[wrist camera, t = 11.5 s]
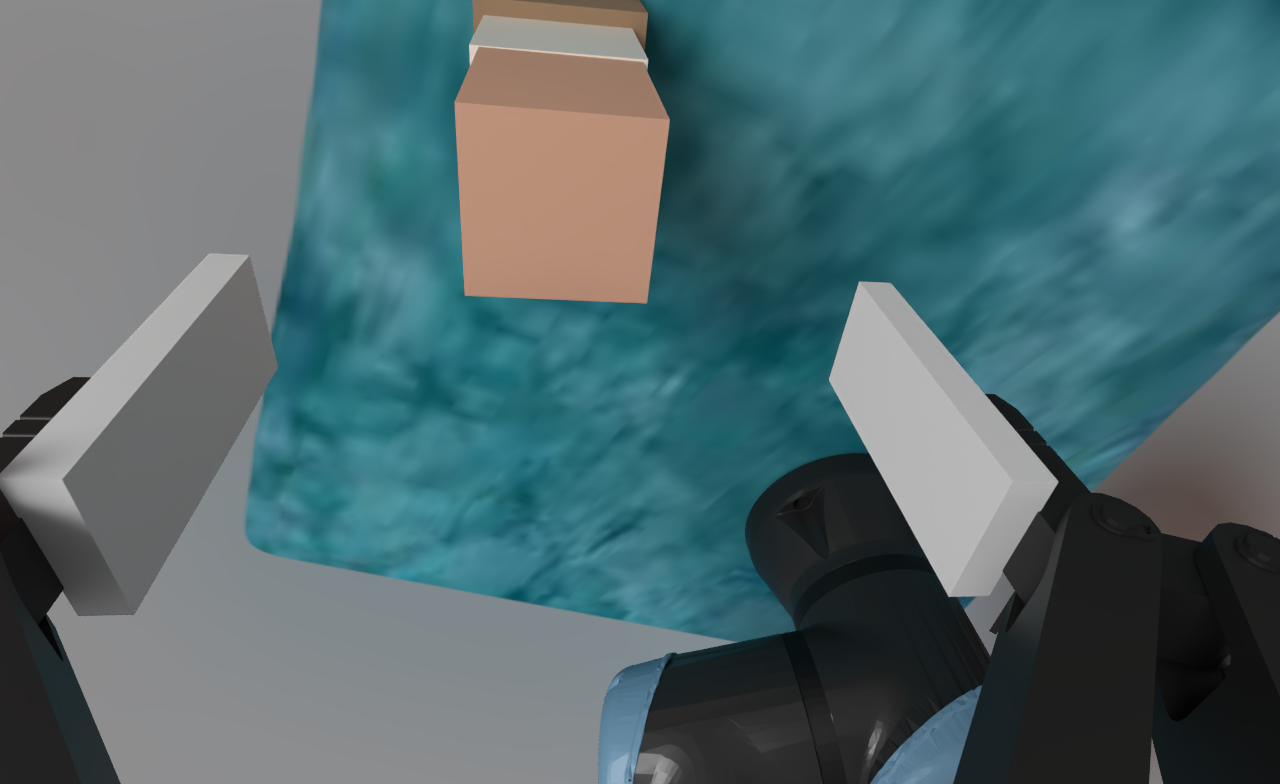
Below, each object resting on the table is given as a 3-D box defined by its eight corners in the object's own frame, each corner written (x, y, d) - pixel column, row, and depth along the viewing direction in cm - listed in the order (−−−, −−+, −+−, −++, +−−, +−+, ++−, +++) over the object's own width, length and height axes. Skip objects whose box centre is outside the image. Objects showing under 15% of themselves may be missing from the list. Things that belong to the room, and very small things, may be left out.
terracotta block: (627, 214, 27) (647, 303, 21) (483, 205, 26) (464, 295, 21) (642, 61, 24) (670, 119, 18) (478, 46, 23) (454, 102, 17)
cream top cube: (620, 172, 32) (632, 225, 27) (488, 164, 31) (477, 217, 26) (632, 28, 28) (648, 60, 24) (483, 15, 28) (469, 44, 23)
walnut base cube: (621, 135, 38) (632, 181, 32) (491, 126, 37) (479, 172, 31) (632, -11, 34) (648, 12, 28) (486, -25, 33) (472, -4, 27)
